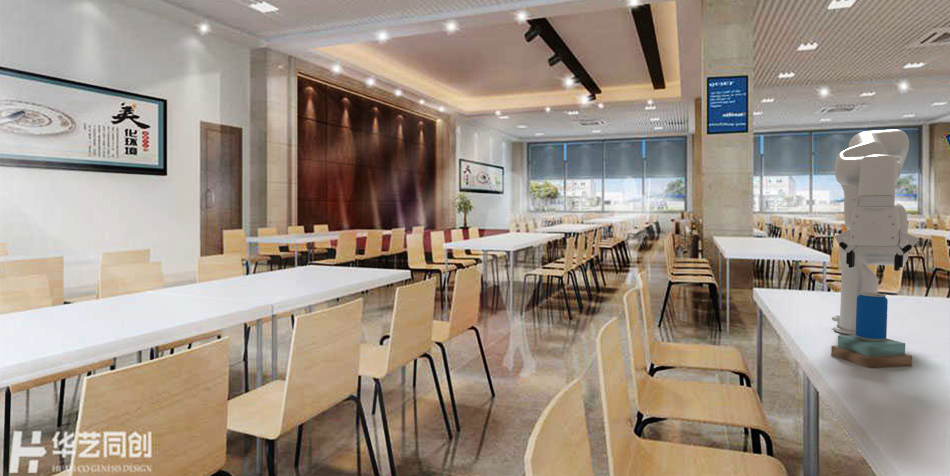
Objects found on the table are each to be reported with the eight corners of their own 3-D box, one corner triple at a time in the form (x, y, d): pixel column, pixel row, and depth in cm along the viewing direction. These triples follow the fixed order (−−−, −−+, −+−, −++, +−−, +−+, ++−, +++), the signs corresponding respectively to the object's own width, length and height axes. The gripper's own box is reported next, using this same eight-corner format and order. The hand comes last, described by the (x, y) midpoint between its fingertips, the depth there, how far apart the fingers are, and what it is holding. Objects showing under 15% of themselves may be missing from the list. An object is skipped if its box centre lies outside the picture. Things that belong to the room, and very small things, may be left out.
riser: (831, 354, 144) (831, 335, 144) (869, 352, 146) (870, 333, 145) (870, 368, 132) (871, 346, 132) (911, 365, 134) (912, 344, 134)
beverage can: (891, 342, 135) (893, 296, 134) (863, 341, 136) (864, 295, 136) (877, 336, 141) (879, 292, 141) (850, 335, 143) (852, 291, 142)
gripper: (832, 203, 140) (830, 267, 141) (916, 202, 128) (913, 273, 129) (840, 203, 145) (838, 265, 146) (921, 202, 133) (918, 270, 134)
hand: (873, 268), depth 138 cm, fingers open, 9 cm apart
